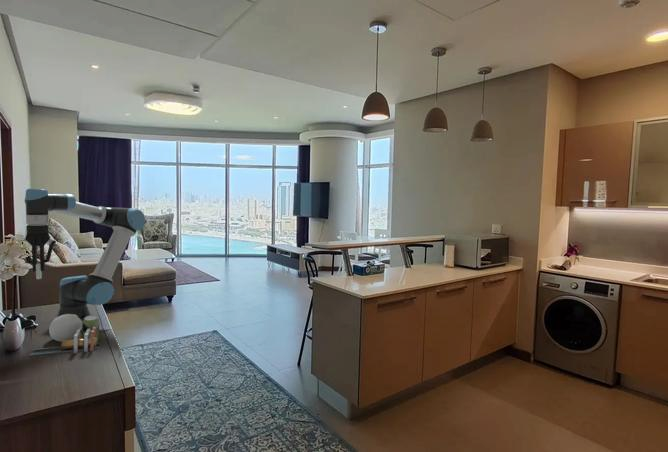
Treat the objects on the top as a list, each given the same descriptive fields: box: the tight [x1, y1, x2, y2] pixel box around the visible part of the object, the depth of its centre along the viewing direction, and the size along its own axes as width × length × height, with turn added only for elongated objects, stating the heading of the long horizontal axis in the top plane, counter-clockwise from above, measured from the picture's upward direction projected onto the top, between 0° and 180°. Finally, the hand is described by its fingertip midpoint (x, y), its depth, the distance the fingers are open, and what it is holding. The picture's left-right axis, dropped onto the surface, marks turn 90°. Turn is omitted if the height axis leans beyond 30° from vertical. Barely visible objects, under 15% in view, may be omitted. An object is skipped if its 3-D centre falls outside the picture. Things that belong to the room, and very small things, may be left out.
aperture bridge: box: [90, 327, 96, 352], centre depth 158 cm, size 8×1×8 cm, turn 26°
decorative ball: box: [48, 314, 83, 343], centre depth 166 cm, size 12×12×12 cm
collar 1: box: [73, 329, 82, 354], centre depth 155 cm, size 9×1×7 cm, turn 26°
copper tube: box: [60, 337, 98, 350], centre depth 157 cm, size 12×4×4 cm, turn 116°
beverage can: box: [81, 314, 100, 342], centre depth 165 cm, size 6×7×12 cm
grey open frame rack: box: [27, 342, 101, 359], centre depth 154 cm, size 9×23×2 cm, turn 116°
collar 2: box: [83, 328, 91, 353], centre depth 157 cm, size 9×1×7 cm, turn 26°
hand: (39, 278), depth 163 cm, fingers closed
